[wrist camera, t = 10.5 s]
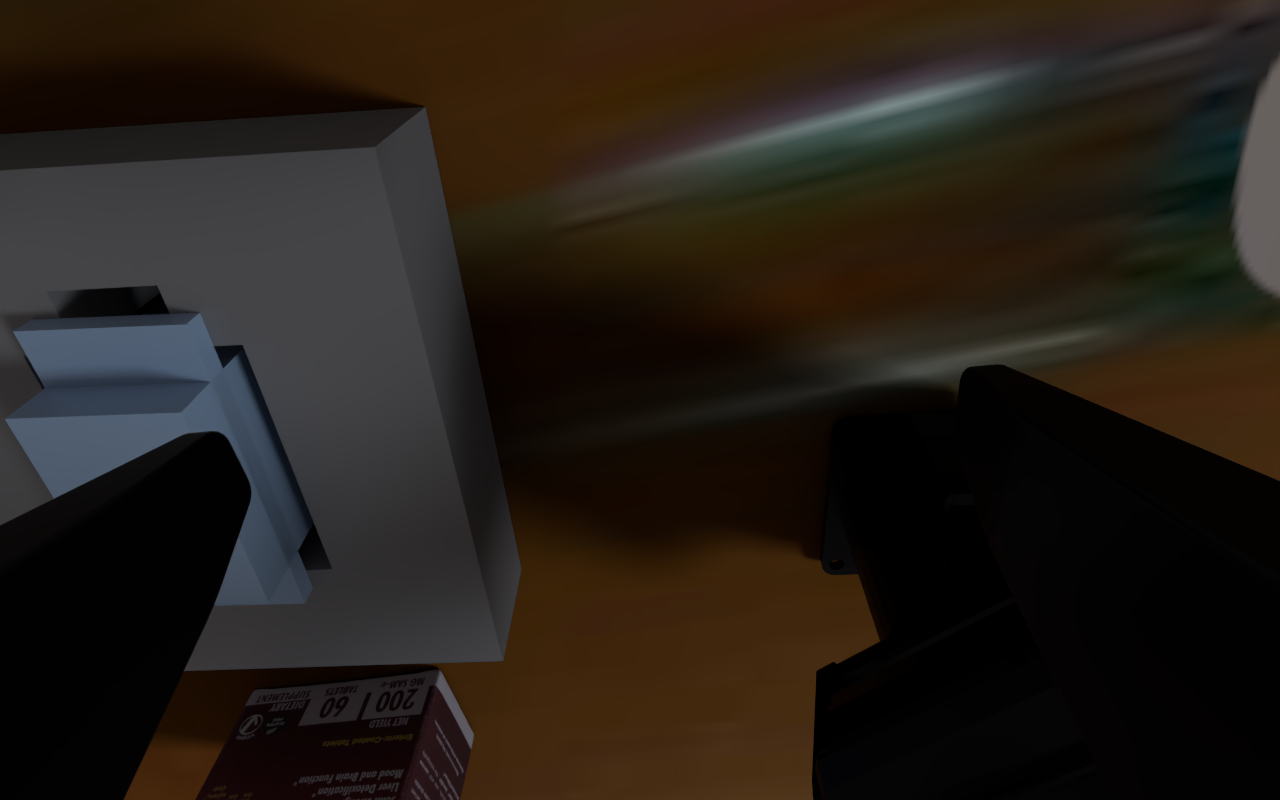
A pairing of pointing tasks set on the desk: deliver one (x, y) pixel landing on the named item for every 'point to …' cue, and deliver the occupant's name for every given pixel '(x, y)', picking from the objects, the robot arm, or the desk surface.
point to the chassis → (292, 356)
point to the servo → (164, 427)
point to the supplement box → (347, 743)
